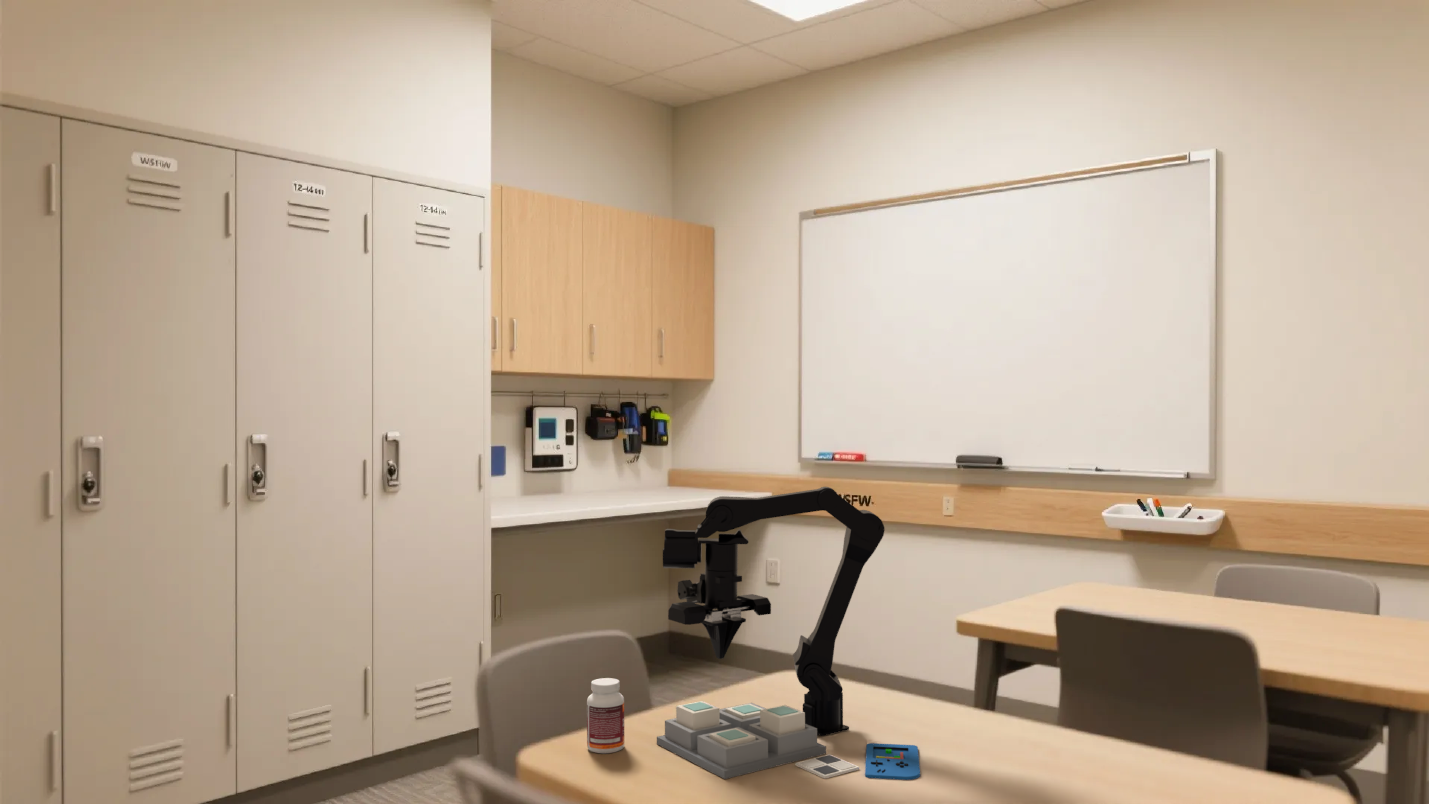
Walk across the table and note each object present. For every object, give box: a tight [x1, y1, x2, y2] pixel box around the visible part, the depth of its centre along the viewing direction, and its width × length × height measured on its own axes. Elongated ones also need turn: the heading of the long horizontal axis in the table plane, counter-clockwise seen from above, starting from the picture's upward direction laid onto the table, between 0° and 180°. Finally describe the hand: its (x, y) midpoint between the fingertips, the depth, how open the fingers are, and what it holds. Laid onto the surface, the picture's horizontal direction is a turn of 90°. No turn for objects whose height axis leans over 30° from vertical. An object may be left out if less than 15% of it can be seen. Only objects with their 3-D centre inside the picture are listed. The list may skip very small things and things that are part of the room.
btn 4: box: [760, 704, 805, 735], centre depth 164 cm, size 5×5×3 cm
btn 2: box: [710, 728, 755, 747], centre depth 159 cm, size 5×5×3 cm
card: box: [795, 754, 860, 780], centre depth 157 cm, size 7×7×1 cm
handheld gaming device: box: [864, 742, 921, 781], centre depth 159 cm, size 8×1×15 cm
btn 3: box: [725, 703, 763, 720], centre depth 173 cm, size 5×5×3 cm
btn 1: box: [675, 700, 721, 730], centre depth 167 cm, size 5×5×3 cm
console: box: [656, 702, 827, 780], centre depth 166 cm, size 20×20×4 cm
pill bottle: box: [586, 677, 625, 754], centre depth 166 cm, size 6×6×11 cm
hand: (720, 658), depth 176 cm, fingers closed
